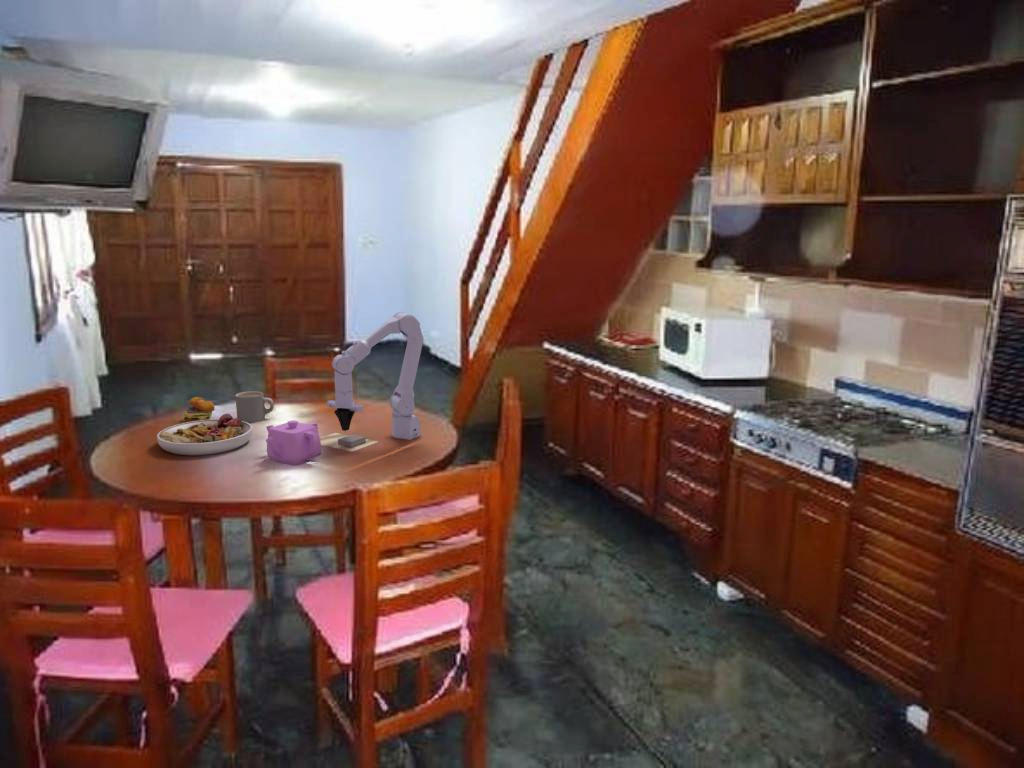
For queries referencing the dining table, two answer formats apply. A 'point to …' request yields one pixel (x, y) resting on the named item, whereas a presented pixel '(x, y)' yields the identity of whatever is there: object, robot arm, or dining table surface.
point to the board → (333, 442)
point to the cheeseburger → (198, 410)
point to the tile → (351, 440)
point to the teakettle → (293, 442)
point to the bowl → (205, 436)
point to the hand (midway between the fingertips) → (345, 429)
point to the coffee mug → (252, 406)
